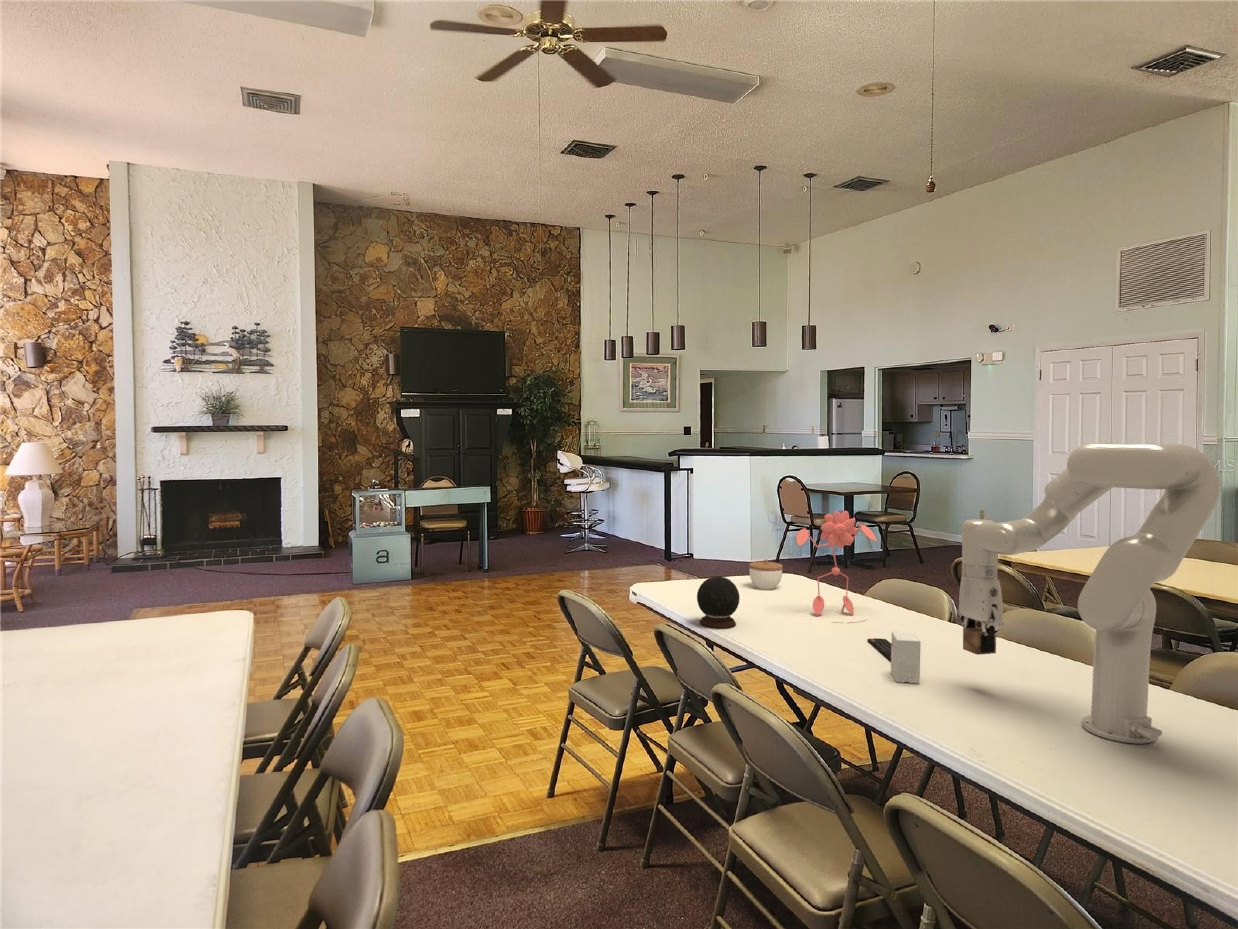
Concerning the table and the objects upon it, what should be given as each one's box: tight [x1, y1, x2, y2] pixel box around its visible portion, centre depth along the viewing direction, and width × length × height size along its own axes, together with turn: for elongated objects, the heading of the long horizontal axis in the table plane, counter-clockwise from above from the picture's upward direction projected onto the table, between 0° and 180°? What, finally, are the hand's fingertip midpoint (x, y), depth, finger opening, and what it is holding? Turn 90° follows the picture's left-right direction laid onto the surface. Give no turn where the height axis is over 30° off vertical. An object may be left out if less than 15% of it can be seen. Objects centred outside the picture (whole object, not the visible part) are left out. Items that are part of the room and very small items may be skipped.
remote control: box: [867, 637, 892, 663], centre depth 207 cm, size 5×24×1 cm, turn 179°
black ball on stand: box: [696, 575, 740, 630], centre depth 235 cm, size 13×13×15 cm
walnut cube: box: [962, 626, 997, 656], centre depth 178 cm, size 5×5×5 cm
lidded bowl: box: [748, 558, 784, 591], centre depth 289 cm, size 13×13×11 cm
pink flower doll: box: [796, 510, 878, 624], centre depth 245 cm, size 15×26×35 cm, turn 95°
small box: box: [890, 631, 922, 684], centre depth 186 cm, size 8×6×10 cm
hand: (979, 648), depth 178 cm, fingers closed on walnut cube, 4 cm apart
